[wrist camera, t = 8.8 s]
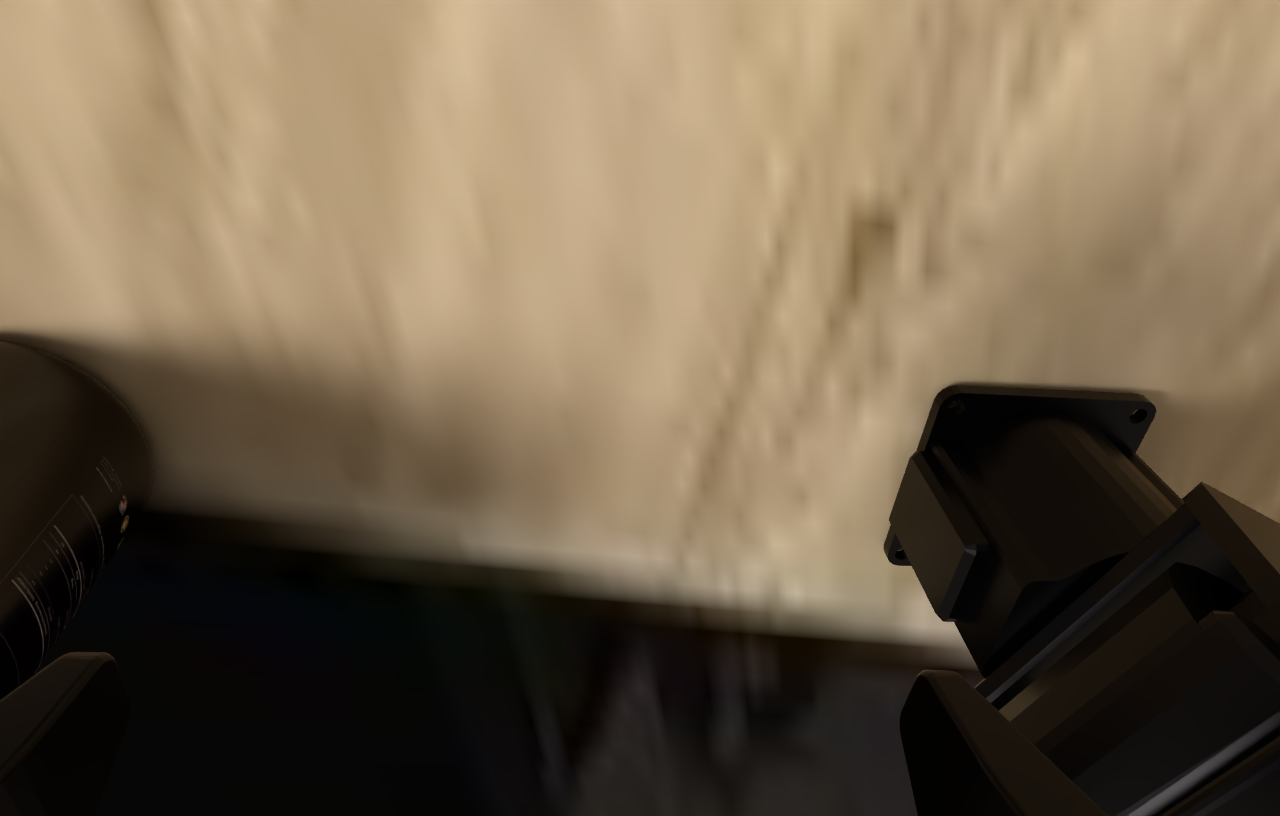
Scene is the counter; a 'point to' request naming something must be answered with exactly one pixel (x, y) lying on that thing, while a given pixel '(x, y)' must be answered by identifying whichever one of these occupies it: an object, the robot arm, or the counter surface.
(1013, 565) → the robot arm
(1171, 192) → the counter surface
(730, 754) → the counter surface
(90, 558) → the supplement bottle
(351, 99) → the counter surface
